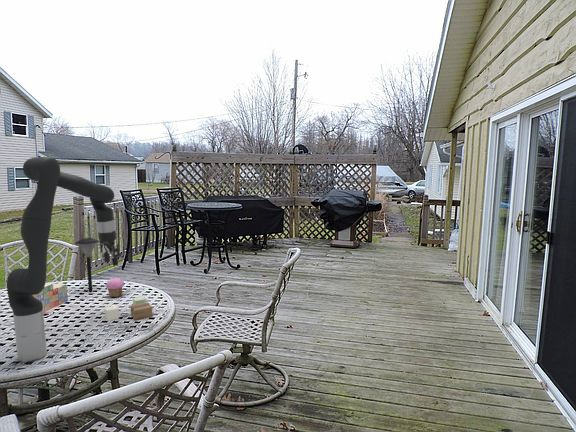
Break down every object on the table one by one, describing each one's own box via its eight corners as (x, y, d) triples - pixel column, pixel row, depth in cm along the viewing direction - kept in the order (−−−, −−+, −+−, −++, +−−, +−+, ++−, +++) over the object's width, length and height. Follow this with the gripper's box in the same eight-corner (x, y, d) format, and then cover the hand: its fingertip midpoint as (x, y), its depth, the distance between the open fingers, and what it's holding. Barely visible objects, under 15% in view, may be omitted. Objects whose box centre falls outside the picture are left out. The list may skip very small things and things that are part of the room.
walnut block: (152, 317, 186) (152, 307, 185) (134, 321, 182) (134, 310, 181) (148, 312, 193) (147, 302, 192) (130, 315, 188) (130, 305, 188)
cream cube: (119, 318, 184) (118, 308, 183) (107, 321, 181) (106, 310, 180) (116, 315, 188) (116, 305, 187) (105, 317, 185) (104, 307, 184)
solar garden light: (104, 287, 230) (100, 236, 226) (101, 294, 219) (97, 240, 215) (80, 289, 226) (76, 237, 223) (76, 296, 215) (72, 241, 211)
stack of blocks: (57, 300, 209) (56, 277, 208) (68, 301, 208) (66, 278, 206) (23, 315, 188) (21, 290, 187) (34, 316, 187) (32, 291, 186)
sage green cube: (146, 308, 197) (145, 299, 196) (136, 310, 194) (135, 301, 193) (143, 305, 201) (143, 296, 200) (133, 307, 198) (132, 298, 197)
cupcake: (127, 293, 219) (126, 276, 218) (119, 299, 210) (118, 280, 209) (112, 293, 220) (111, 275, 219) (103, 298, 211) (102, 280, 210)
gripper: (91, 229, 185) (96, 262, 189) (105, 234, 176) (110, 268, 180) (107, 226, 191) (112, 258, 194) (121, 230, 182) (126, 264, 185)
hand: (111, 263), depth 187 cm, fingers open, 8 cm apart
